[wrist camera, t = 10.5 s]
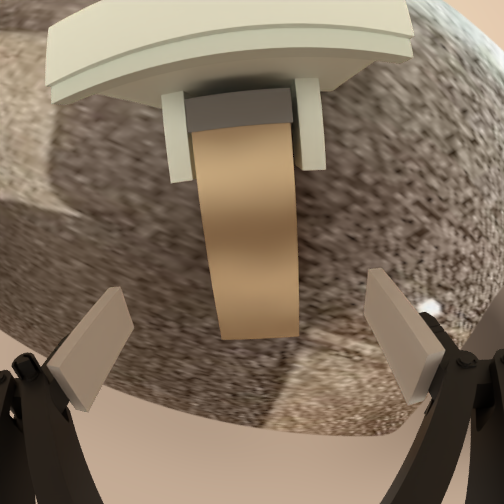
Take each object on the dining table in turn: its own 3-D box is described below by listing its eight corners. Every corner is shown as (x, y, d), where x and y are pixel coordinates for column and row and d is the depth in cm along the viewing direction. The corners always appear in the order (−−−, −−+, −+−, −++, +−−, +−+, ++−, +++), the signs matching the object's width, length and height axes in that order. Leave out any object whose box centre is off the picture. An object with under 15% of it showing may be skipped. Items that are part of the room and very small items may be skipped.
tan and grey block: (293, 288, 26) (301, 337, 19) (230, 292, 26) (219, 341, 20) (282, 104, 20) (290, 87, 14) (209, 111, 21) (184, 99, 14)
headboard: (167, 177, 23) (62, 226, 10) (156, 76, 19) (48, 27, 6) (337, 163, 22) (427, 195, 9) (327, 58, 18) (396, -25, 5)
